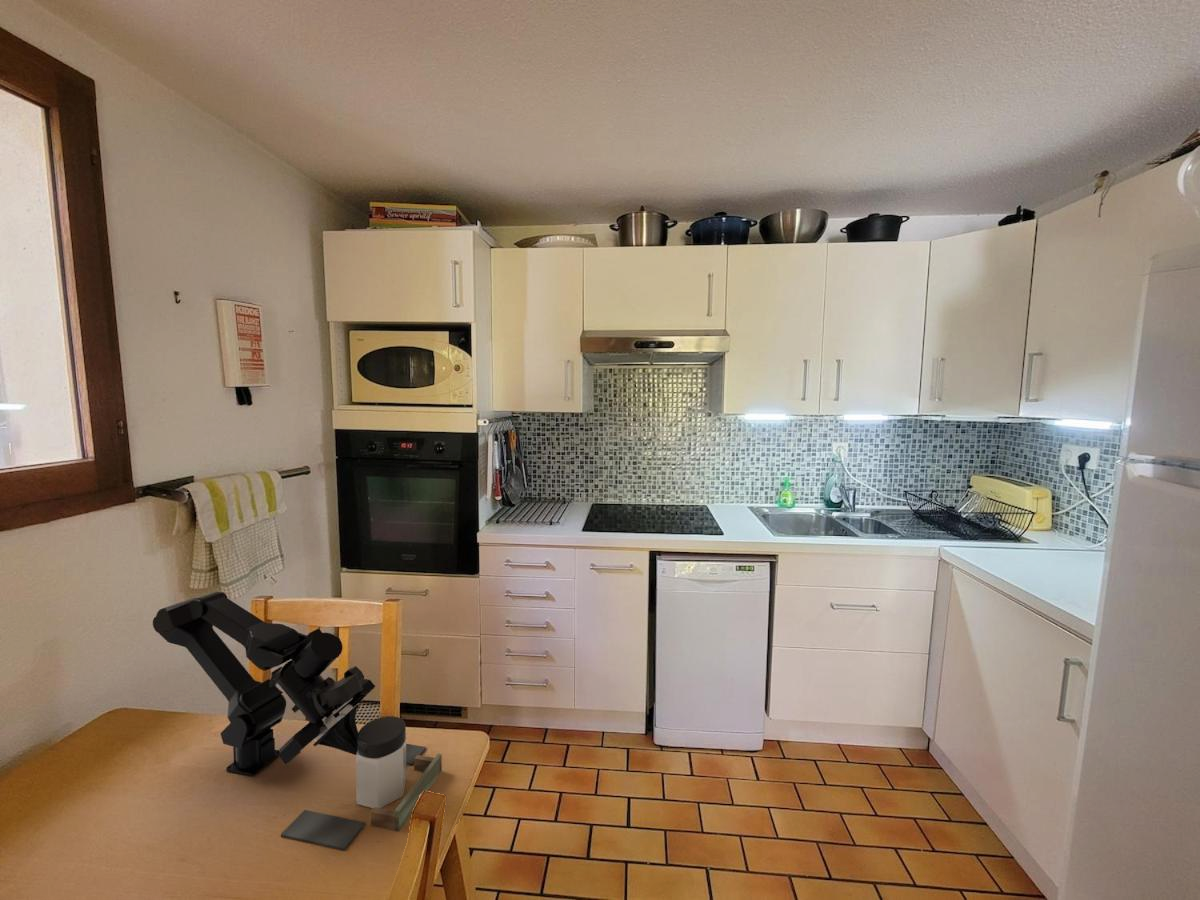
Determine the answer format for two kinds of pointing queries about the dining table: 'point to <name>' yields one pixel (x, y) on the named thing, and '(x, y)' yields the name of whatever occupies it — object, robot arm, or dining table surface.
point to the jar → (381, 762)
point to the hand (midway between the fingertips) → (360, 752)
